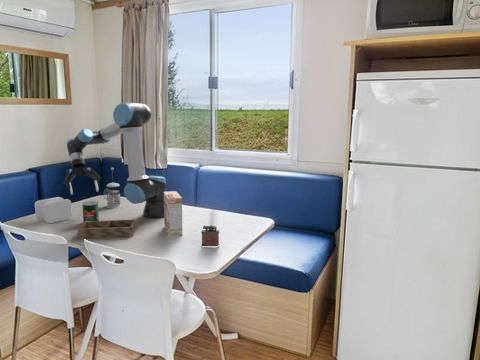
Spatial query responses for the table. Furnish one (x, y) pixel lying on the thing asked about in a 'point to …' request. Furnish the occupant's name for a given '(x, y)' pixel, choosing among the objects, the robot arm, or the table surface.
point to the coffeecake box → (173, 213)
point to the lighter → (210, 236)
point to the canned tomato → (90, 211)
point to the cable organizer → (53, 209)
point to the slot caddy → (107, 229)
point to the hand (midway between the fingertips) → (85, 192)
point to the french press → (113, 195)
